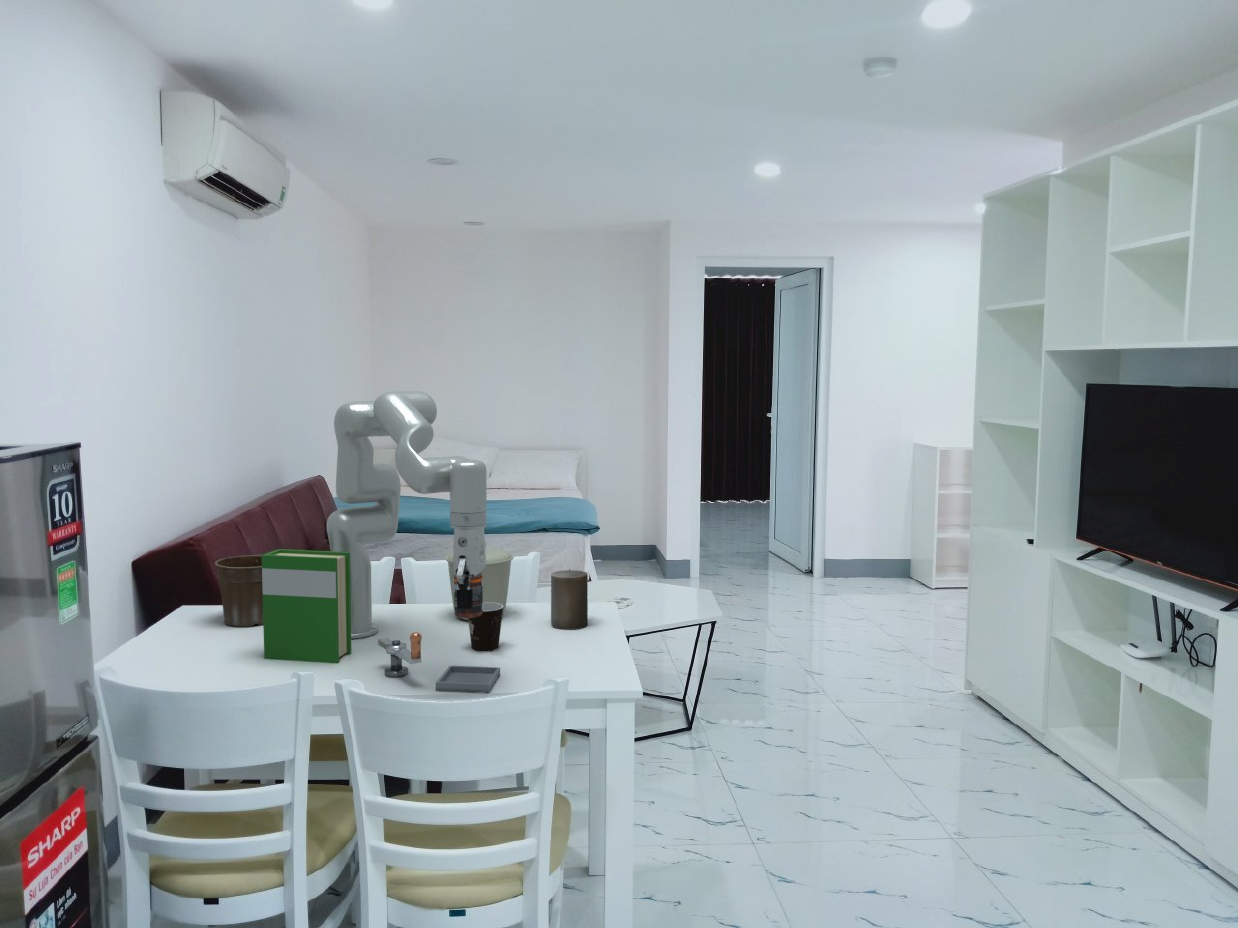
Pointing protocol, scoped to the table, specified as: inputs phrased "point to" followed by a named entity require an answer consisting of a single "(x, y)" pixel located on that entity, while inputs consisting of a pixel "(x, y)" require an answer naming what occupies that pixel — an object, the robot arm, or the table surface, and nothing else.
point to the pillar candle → (569, 599)
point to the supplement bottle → (477, 598)
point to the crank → (404, 648)
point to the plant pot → (241, 590)
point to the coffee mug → (486, 627)
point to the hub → (396, 668)
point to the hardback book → (306, 605)
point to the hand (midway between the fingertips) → (468, 603)
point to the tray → (468, 679)
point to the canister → (490, 575)
